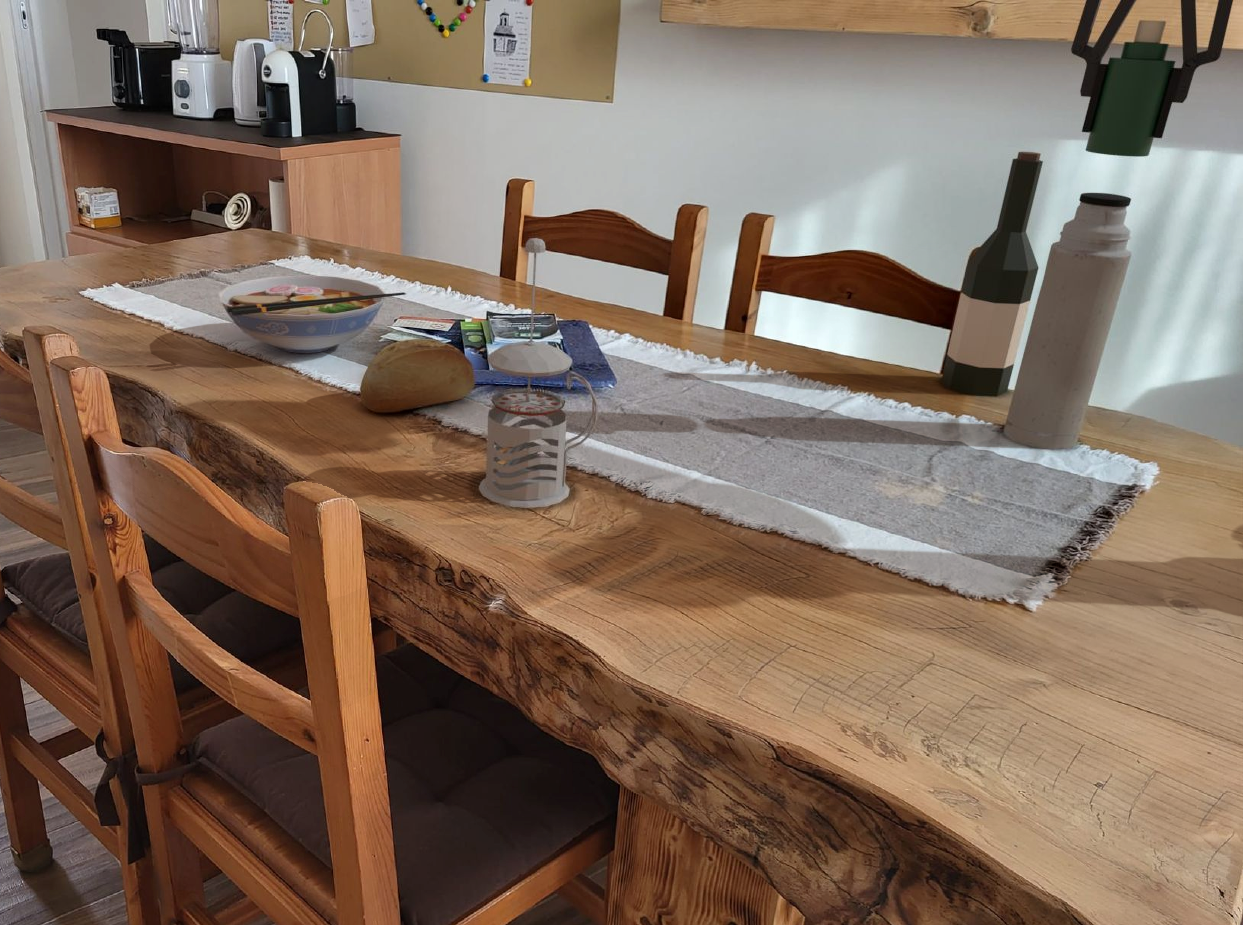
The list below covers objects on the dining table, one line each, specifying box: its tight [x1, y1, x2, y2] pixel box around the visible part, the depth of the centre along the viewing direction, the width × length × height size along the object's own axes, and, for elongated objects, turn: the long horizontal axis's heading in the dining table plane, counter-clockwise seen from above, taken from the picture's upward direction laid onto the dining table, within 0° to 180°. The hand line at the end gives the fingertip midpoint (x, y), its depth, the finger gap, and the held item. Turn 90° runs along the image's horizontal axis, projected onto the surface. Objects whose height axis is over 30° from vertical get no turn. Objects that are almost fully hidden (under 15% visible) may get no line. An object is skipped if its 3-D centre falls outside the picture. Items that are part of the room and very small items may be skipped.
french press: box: [478, 237, 599, 509], centre depth 103 cm, size 10×12×25 cm
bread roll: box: [359, 338, 476, 414], centre depth 129 cm, size 10×15×8 cm, turn 124°
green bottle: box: [1085, 19, 1176, 158], centre depth 111 cm, size 6×6×12 cm
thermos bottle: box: [1003, 192, 1132, 451], centre depth 122 cm, size 8×8×28 cm
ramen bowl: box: [217, 274, 407, 354], centre depth 149 cm, size 25×23×8 cm
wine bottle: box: [940, 151, 1044, 398], centre depth 138 cm, size 8×8×30 cm
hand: (1121, 133), depth 113 cm, fingers closed on green bottle, 6 cm apart
